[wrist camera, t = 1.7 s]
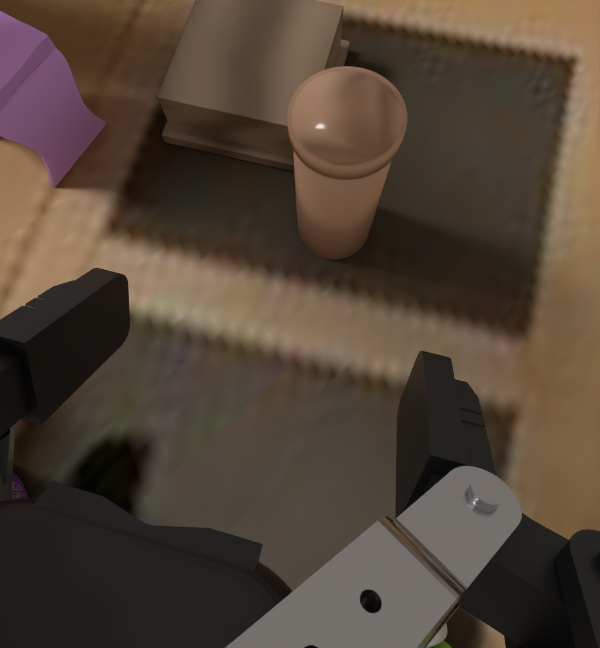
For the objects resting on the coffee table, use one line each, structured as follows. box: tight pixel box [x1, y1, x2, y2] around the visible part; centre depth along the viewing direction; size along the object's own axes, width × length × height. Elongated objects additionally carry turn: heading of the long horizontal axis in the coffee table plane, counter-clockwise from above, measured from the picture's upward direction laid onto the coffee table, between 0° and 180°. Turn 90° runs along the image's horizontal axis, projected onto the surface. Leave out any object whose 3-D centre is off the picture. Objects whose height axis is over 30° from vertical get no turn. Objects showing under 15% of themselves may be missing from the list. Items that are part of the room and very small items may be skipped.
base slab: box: [157, 0, 350, 172], centre depth 31 cm, size 11×11×4 cm
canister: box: [287, 66, 407, 260], centre depth 25 cm, size 5×5×11 cm
